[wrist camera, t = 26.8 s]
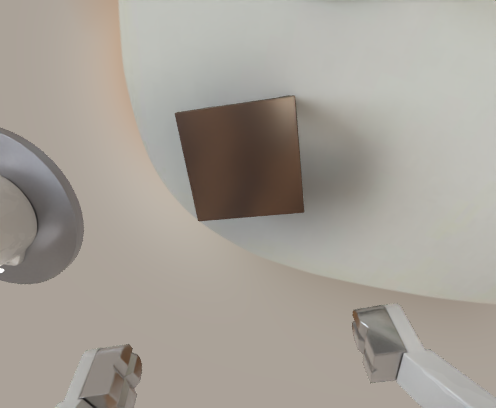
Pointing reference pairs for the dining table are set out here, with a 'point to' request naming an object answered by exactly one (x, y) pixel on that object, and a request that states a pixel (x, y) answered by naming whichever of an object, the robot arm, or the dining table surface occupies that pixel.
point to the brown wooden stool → (243, 158)
